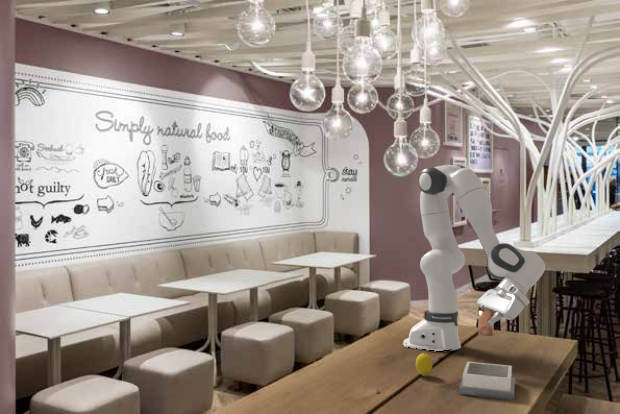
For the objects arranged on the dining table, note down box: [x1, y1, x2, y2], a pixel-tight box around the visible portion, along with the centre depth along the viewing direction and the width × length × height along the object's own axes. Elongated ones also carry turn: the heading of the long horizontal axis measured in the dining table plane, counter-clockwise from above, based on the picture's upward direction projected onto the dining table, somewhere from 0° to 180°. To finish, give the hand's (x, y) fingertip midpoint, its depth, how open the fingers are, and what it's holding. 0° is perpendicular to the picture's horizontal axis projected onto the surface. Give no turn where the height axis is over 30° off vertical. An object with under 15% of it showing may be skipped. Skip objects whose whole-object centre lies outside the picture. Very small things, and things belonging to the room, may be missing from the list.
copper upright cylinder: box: [477, 305, 495, 337], centre depth 209 cm, size 5×5×10 cm
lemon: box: [415, 352, 433, 377], centre depth 206 cm, size 6×6×8 cm
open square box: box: [458, 361, 516, 401], centre depth 193 cm, size 16×16×6 cm
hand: (484, 321), depth 209 cm, fingers closed on copper upright cylinder, 5 cm apart
